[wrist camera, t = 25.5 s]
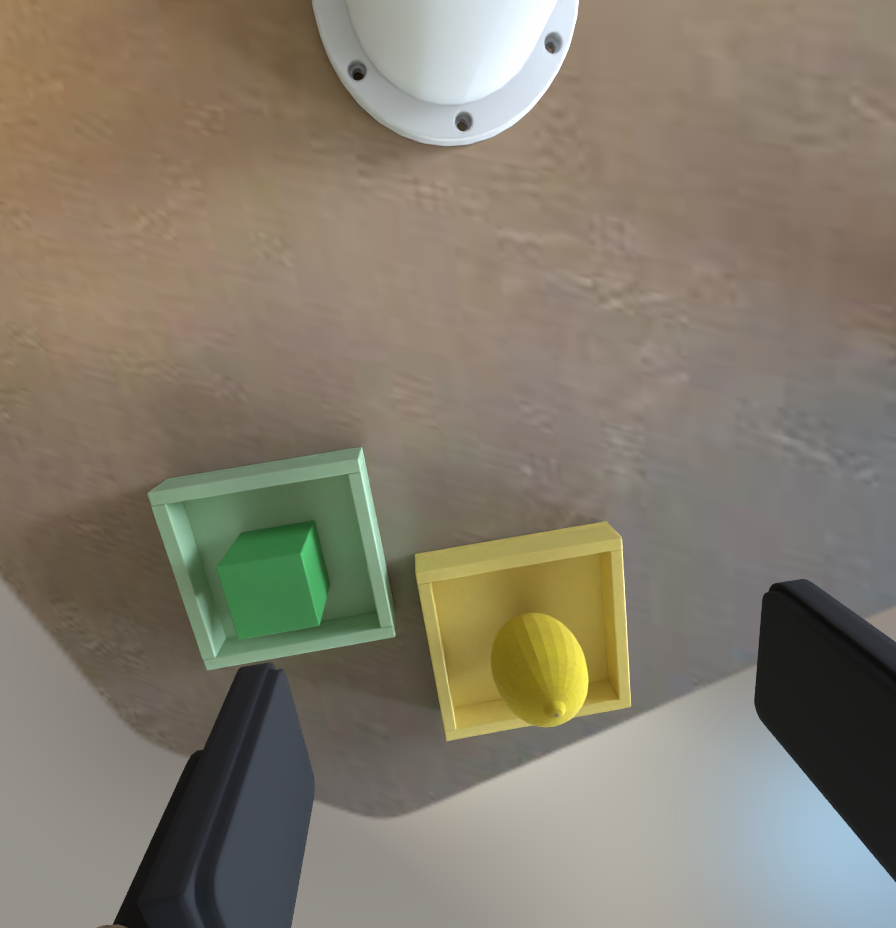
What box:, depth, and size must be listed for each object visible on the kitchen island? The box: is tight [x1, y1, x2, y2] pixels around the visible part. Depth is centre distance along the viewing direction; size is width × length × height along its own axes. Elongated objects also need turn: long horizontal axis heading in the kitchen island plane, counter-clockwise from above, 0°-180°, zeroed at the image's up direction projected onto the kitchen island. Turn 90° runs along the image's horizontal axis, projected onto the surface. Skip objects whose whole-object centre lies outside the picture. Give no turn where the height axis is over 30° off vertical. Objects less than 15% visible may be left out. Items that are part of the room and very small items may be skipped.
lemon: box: [491, 613, 588, 727], centre depth 31 cm, size 6×6×8 cm
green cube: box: [216, 520, 330, 640], centre depth 30 cm, size 4×4×4 cm
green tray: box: [147, 447, 396, 670], centre depth 32 cm, size 12×12×3 cm
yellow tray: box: [415, 521, 631, 741], centre depth 34 cm, size 13×13×3 cm
